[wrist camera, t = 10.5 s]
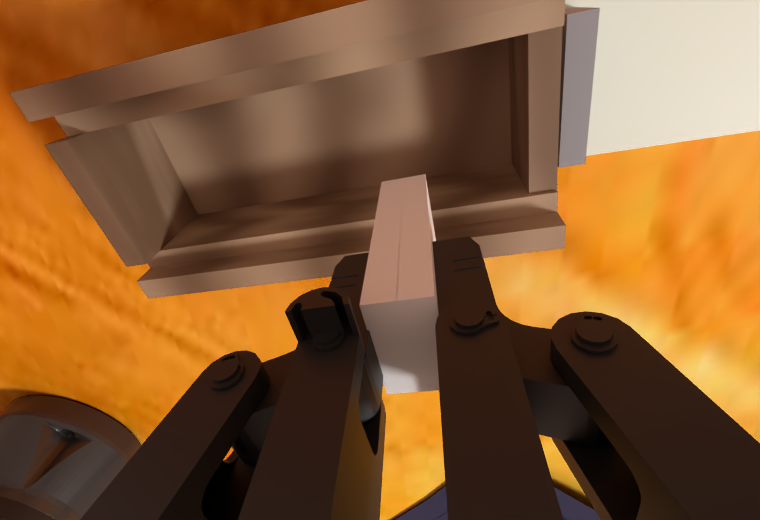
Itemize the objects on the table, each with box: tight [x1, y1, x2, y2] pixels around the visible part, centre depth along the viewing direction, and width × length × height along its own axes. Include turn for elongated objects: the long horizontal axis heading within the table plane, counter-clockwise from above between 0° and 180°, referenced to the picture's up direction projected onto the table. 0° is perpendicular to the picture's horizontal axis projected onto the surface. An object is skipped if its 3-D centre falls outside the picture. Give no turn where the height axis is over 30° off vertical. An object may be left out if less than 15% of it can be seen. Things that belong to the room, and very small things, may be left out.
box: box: [10, 0, 566, 299], centre depth 19 cm, size 22×11×6 cm, turn 102°
